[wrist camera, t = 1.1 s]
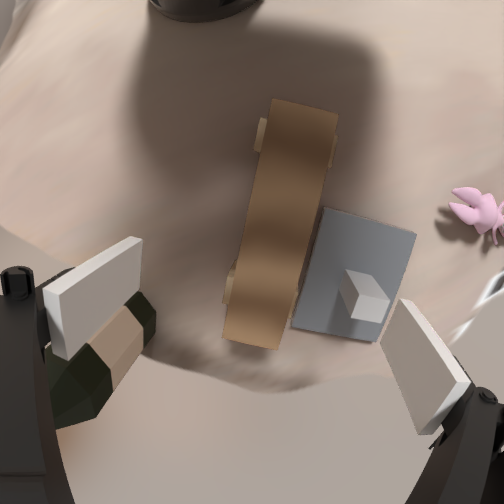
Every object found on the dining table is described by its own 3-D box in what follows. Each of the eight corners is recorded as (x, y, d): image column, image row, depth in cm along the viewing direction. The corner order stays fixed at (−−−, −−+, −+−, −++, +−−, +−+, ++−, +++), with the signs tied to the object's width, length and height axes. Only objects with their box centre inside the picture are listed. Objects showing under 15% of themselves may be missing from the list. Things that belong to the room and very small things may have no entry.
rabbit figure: (512, 205, 29) (447, 168, 27) (541, 215, 23) (482, 174, 21) (500, 246, 31) (434, 221, 29) (529, 260, 25) (467, 235, 23)
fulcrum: (323, 206, 31) (336, 219, 23) (412, 231, 30) (444, 250, 23) (291, 321, 35) (292, 360, 28) (373, 337, 35) (390, 374, 27)
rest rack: (263, 125, 29) (260, 117, 24) (329, 140, 29) (338, 135, 24) (230, 284, 34) (222, 303, 30) (289, 297, 34) (290, 318, 29)
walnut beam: (273, 109, 24) (272, 98, 20) (329, 122, 24) (339, 114, 19) (230, 314, 30) (221, 337, 26) (278, 325, 30) (277, 350, 25)
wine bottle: (167, 310, 36) (27, 515, 8) (144, 351, 39) (32, 524, 10) (115, 273, 36) (-64, 425, 7) (97, 317, 38) (-41, 460, 9)
